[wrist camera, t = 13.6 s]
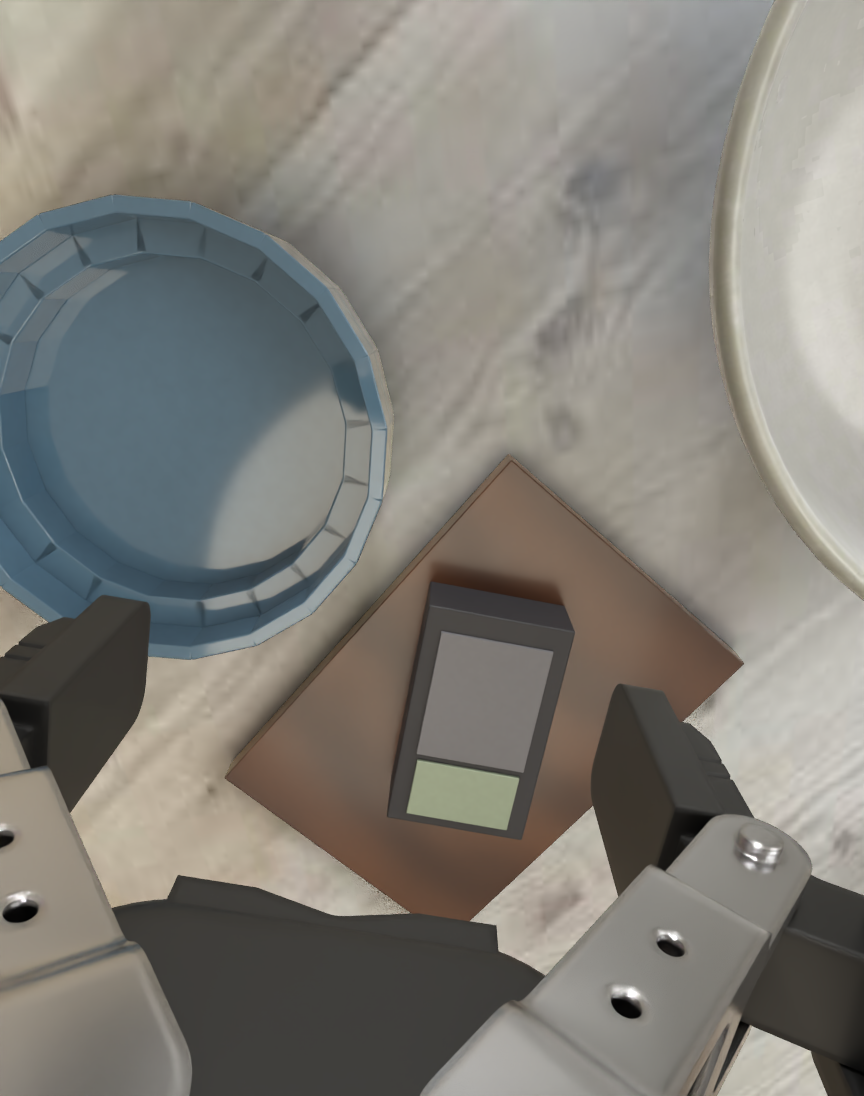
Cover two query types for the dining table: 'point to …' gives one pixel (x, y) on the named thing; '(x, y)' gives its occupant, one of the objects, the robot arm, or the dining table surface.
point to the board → (384, 677)
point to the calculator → (479, 710)
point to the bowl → (182, 422)
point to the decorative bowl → (798, 272)
